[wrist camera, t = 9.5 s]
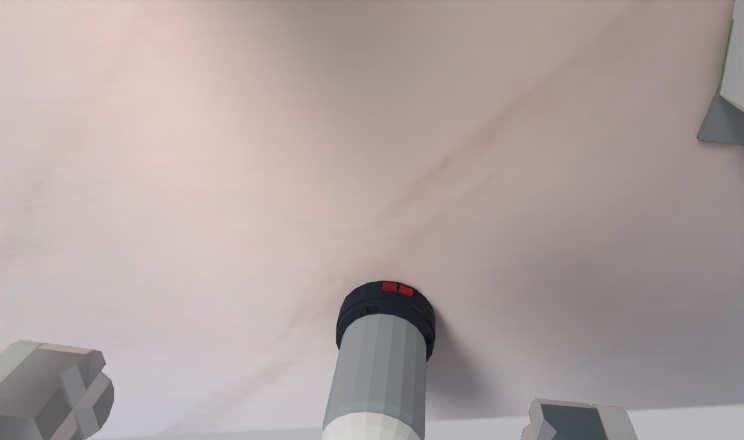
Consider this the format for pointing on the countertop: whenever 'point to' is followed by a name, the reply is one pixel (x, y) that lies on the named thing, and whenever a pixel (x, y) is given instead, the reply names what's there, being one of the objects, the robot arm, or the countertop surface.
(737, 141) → the mat
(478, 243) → the countertop surface
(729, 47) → the ink box
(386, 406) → the humidifier
